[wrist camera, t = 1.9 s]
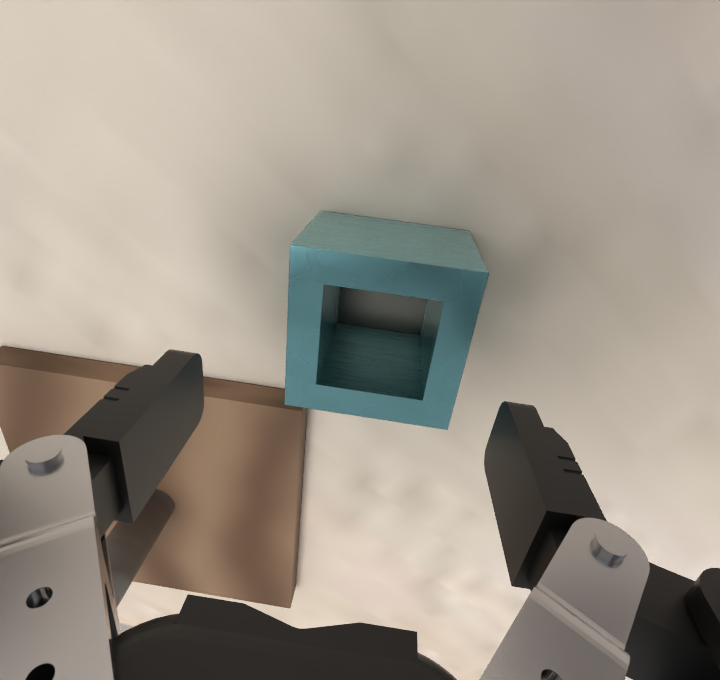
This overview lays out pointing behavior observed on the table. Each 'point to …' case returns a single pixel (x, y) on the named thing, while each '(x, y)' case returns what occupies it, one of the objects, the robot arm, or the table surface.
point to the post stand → (186, 479)
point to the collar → (375, 346)
